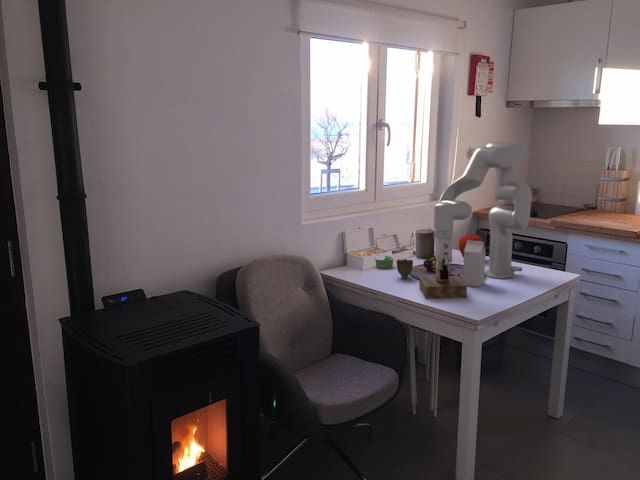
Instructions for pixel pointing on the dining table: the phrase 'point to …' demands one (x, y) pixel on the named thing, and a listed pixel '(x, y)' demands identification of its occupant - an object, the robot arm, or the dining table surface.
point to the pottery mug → (429, 262)
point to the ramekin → (385, 262)
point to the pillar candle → (425, 243)
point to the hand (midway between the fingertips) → (442, 276)
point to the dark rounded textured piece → (404, 267)
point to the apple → (464, 241)
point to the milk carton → (474, 263)
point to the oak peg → (438, 268)
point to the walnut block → (443, 288)
